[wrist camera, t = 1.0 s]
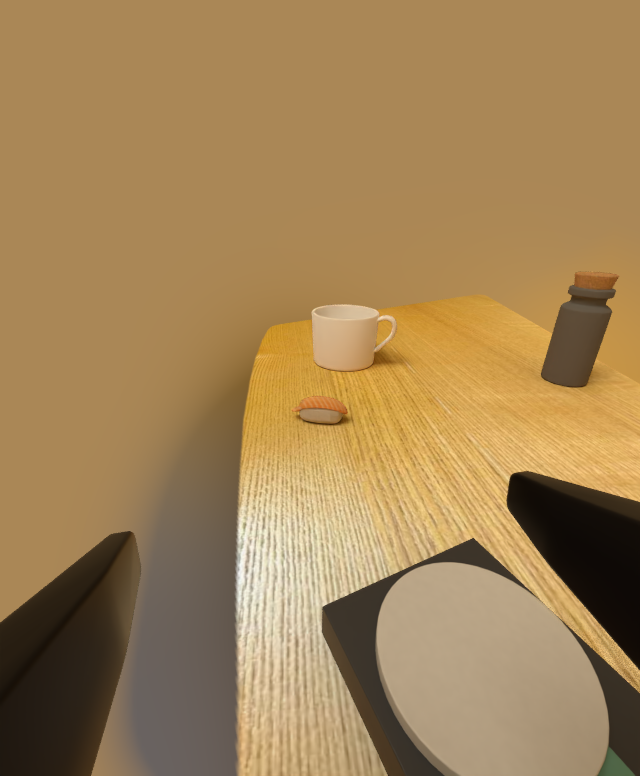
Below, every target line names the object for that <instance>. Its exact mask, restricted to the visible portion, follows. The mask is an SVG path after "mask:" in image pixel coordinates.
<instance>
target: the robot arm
mask: <svg viewBox="0 0 640 776" xmlns="http://www.w3.org/2000/svg"><path fill="white" fill-rule="evenodd" d="M507 507H508V509H509V511H510V513H511V514H512V515H513V517H514V518H515V520H516V521H517V522H518V524H519V525H520V526H521V528H522V529H523V530H524V532H525V533H526V535H527V536H528V537H529V539H530V540H531V541H532V543H533V544H534V546H535V547H536V548H537V550H538V551H539V552H540V554H541V555H542V556H543V558H544V559H545V560H546V562H547V563H548V564H549V565H550V567H551V568H552V569H553V570H554V571H555V573H556V574H557V575H558V576H559V577H560V578H561V580H562V581H563V582H564V583H565V584H566V585H567V587H568V588H569V589H570V590H571V591H572V592H573V594H574V595H575V596H576V597H577V598H578V599H579V600H580V602H581V603H582V604H583V605H584V606H585V607H586V609H587V610H588V611H589V612H590V613H591V614H592V616H593V617H594V618H595V619H596V620H597V621H598V622H599V624H600V625H601V626H602V627H603V628H604V629H605V631H606V632H607V633H608V634H609V635H610V636H611V638H612V639H613V640H614V641H615V642H616V643H617V644H618V646H619V647H620V648H621V649H622V650H623V651H624V653H625V654H626V655H627V656H628V657H629V658H630V660H631V661H632V662H633V663H634V664H635V665H636V666H637V668H638V669H639V670H640V502H638V501H634V500H630V499H627V498H623V497H620V496H616V495H612V494H609V493H605V492H602V491H598V490H594V489H591V488H587V487H584V486H580V485H576V484H573V483H569V482H566V481H562V480H559V479H555V478H551V477H548V476H544V475H541V474H537V473H533V472H529V471H524V472H518V473H514V474H512V475H511V477H510V480H509V487H508V494H507ZM140 575H141V564H140V558H139V553H138V548H137V543H136V538H135V535H134V533H132V532H130V531H128V532H121V533H114V534H111V535H109V536H108V537H106V538H105V539H104V540H103V541H102V542H100V543H99V544H98V545H96V546H95V547H94V548H93V549H92V550H90V551H89V552H88V553H86V554H85V555H84V556H83V557H81V558H80V559H79V560H78V561H77V562H75V563H74V564H73V565H72V566H70V567H69V568H68V569H67V570H65V571H64V572H63V573H62V574H60V575H59V576H58V577H57V578H55V579H54V580H53V581H52V582H50V583H49V584H48V585H47V586H45V587H44V588H43V589H42V590H40V591H39V592H38V593H37V594H35V595H34V596H33V597H32V598H30V599H29V600H28V601H27V602H25V603H24V604H23V605H22V606H20V607H19V608H18V609H17V610H16V611H14V612H13V613H12V614H11V615H9V616H8V617H7V618H5V619H4V620H3V621H2V622H0V776H91V774H92V770H93V767H94V763H95V760H96V757H97V753H98V750H99V746H100V743H101V739H102V736H103V733H104V729H105V726H106V722H107V719H108V715H109V712H110V709H111V705H112V701H113V698H114V695H115V691H116V687H117V685H118V681H119V678H120V674H121V671H122V667H123V663H124V659H125V655H126V652H127V647H128V641H129V636H130V631H131V625H132V620H133V613H134V609H135V603H136V597H137V592H138V586H139V581H140Z"/></svg>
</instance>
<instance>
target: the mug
mask: <svg viewBox="0 0 640 776" xmlns="http://www.w3.org/2000/svg"><path fill="white" fill-rule="evenodd" d="M383 320H387V321H390V322H391V324H392V332H391V334H390V335H389V337H388V338H387V339H386V340H384V341H383V342H382V343H381V344H380V345H379V346H377V347H376V348H375V345H376V337H377V329H378V322H380V321H383ZM312 328H313V351H314V361H315V363H316V364H317V365H319V366H321V367H323V368H326V369H329V370H334V371H357V370H362V369H365V368H367V367H369V366H371V365H372V364H373V361H374V353H375V352H378V351H379V350H380V349H382V348H383V347H384V346H385V345H386V344H388V343H389V342H390V341H391V340H392V339H393V338H394V337H395V334H396V332H397V323H396V320H395V319H394V318H393V317H392V316H389V315H384V316H381V317H379V312H378V311H377V310H375V309H372V308H369V307H364V306H357V305H356V306H355V305H328V306H322V307H318V308H315V309H314V310H313V311H312Z"/></svg>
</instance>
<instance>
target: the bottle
mask: <svg viewBox="0 0 640 776" xmlns="http://www.w3.org/2000/svg"><path fill="white" fill-rule="evenodd" d="M618 277H619V275H616V274H611V273H602V272H576V273H575V284H574V285H572V286H570V287H569V290H568V293H569V294H571V295H572V297H571V300H570V301H569V302H566V303H564V304H562V305H561V307H560V310H559V314H558V317H557V320H556V323H555V327H554V331H553V334H552V337H551V341H550V344H549V348H548V351H547V355H546V358H545V362H544V365H543V369H542V373H541V376H542V377H543V378H544V379H546V380H547V381H550V382H552V383H555V384H559V385H563V386H571V387H581V386H584V385H586V384H587V381H588V379H589V376H590V373H591V371H592V368H593V365H594V362H595V360H596V357H597V354H598V351H599V348H600V345H601V343H602V340H603V337H604V334H605V331H606V328H607V325H608V322H609V319H610V317H611V313H612V310H611V309H610V308H609V307H608V306H607V305H606V302H607V300H608V299H609V298H613V297H614V295H615V292H616V290H615V289H612V287H613V285H614V284H615V282H616V281H617V279H618Z"/></svg>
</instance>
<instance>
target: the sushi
mask: <svg viewBox="0 0 640 776" xmlns="http://www.w3.org/2000/svg"><path fill="white" fill-rule="evenodd" d="M292 411H300V416H301V418H302V419H303V420H306V421H309V422H316V423H337V422H339V421H340V420H341V418H342V415H343V414H347V409H346V407H345V406H344V404H343V403H341V402H340V401H338V400H336V399H334V398H330V397H324V396H312V397H308V398H305V399H303V400H302V402H301V403H300V405H299V406H298V407H295V408H293V409H292Z"/></svg>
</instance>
